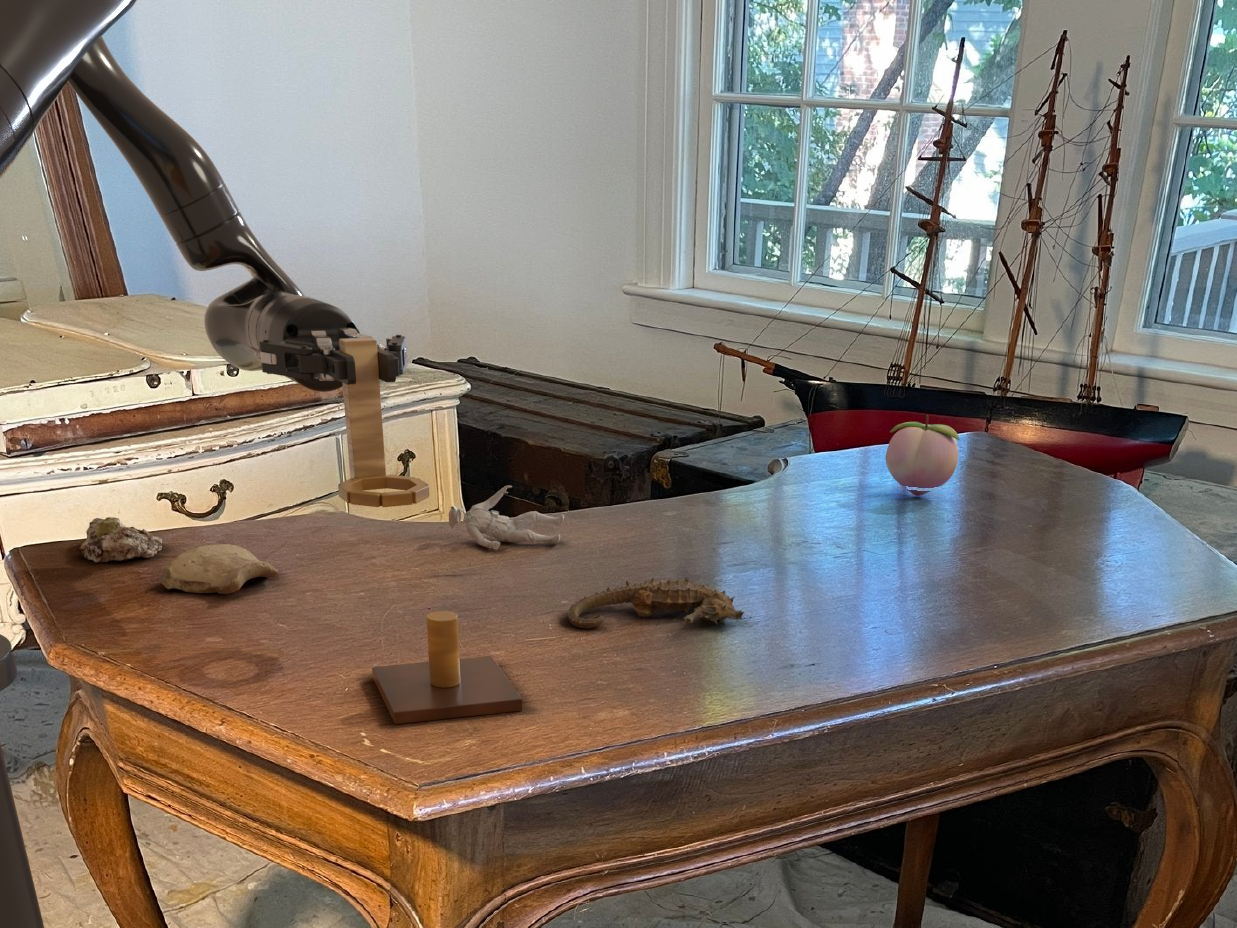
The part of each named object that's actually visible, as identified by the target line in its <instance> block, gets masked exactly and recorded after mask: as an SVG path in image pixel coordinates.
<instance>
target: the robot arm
mask: <svg viewBox="0 0 1237 928" xmlns="http://www.w3.org/2000/svg"><path fill="white" fill-rule="evenodd" d="M137 1H138V0H0V179H2V177H3V176H4V175H5V174H6V173H7V171H9V169H10V168H11V166H12V165H13V164H14V162H15V161H16V160H17V158H18V157H19V155H20V154H21V152H22V151H23V150H24V148H25V147H26V146H27V144H28V143H29V141H30V140H31V138H32V137H33V135H34V134H35V132H36V130H37V129H38V127H39V125H40V123H41V122H42V120H43V119H44V118H45V116H46V114H47V113H48V112H49V110H50V109H51V107H52V106H53V104H54V103H55V102H56V100H57V99H58V97H59V96H60V94H61V92H62V91H63V89H64V88H65V86H66V85H67V83H68V84H69V86H70V87H71V89H72V90H73V91H74V92H75V94H76V95H77V97H78V98H79V99H80V101H81V102H82V104H84V106H85V108H86V109H87V110H88V111H89V112H90V114H91V115H92V116H93V118H94V119H95V120H96V122H97V123H98V124H99V125H100V127H101V128H102V130H103V131H104V132H105V133H106V135H107V136H108V137H109V138H110V140H111V141H112V143H113V144H114V145H115V147H116V148H117V149H118V151H119V152H120V154H121V155H122V156H123V158H124V159H125V161H126V163H127V164H128V166H129V167H130V168H131V170H132V171H133V173H134V175H135V176H136V178H137V179H138V181H139V183H140V184H141V186H142V187H143V190H144V191H145V193H146V194H147V196H148V197H149V199H150V201H151V203H152V204H153V206H154V208H155V210H156V211H157V213H158V215H159V217H160V219H161V220H162V222H163V225H164V226H165V227H166V229H167V231H168V233H169V235H170V236H171V238H172V240H173V242H174V243H175V245H176V247H177V249H178V250H179V252H180V254H181V255H182V257H183V259H184V261H185V262H186V263H187V264H188V266H189V267H190V268H191V269H192V270H195V271H197V272H198V271H199V272H206V271H211V270H216V269H219V268H222V267H226V266H231V265H239V266H241V267H243V268H245V270H246V271H248V273H249V274H250V276H251V277H252V278H250V279H249V280H247V281H245V282H243V283H241V284H239V285H238V286H236V287H234V288H232V289H230V290H229V291H227V292H224V293H223V294H221V295H219V296H218V297H216V298H214V299H213V300H212V301H211V302H210V303H209V304H208V306H207V307H206V310H205V313H204V319H203V322H204V323H203V324H204V331H205V333H206V336H207V339H208V340H209V343H210V344H211V347H212V348H213V349H214V350H215V352H216V353H217V354H218V355H219V356H220V357H221V358H222V359H223V360H224V361H225V362H227V364H229V365H231V366H232V367H235V368H236V369H239V370H243V371H247V372H257V371H258V372H259V371H262V373H265V374H267V375H277V376H281V377H285V378H287V379H289V380H291V381H292V382H295V383H296V384H298V385H300V386H301V387H304V388H306V389H308V390H311V391H314V392H319V393H321V392H322V393H327V392H333V391H337V390H339V389H341V388H343V384H342V383H344V384H346V385H350V384H356V370H355V360H354V357H353V356H352V355H349V354H347V353H344V352H342V351H340V347H339V339H347V338H372V339H374V337H373V336H371V335H368V334H363V333H361V332H360V330H359V329H358V327H357V325H356V324H355V322H354V321H353V319H352V317H350V316H349V315H348V314H347V312H345V311H344V310H343V309H341V308H339V307H337V306H336V305H332V304H330V303H328V302H325V301H323V300H319V299H316V298H314V297H311V296H307V295H305V294H304V292H303V291H302V289H300V287H299V286H298V285H297V284H296V283H295V281H293V279H292V278H291V277H290V276H289V275H288V274H287V273H286V271H285V270H284V269H282V268H281V266H280V265H279V264H278V263H277V262H276V261H275V260H274V258H273V257H272V256H271V255H270V254H269V252H268V250H266V249H265V248H264V246H263V245H262V244H261V242H260V241H259V240H258V237H256V235H255V234H254V233H253V231H252V230H251V228H250V227H249V225H248V223H247V222H246V220H245V219H244V216H243V215H242V213H241V211H240V209H239V207H238V205H237V203H236V202H235V200H234V198H233V196H232V194H231V192H230V190H229V188H228V187H227V185H226V183H225V181H224V178H223V176H221V173H220V172H219V170H218V168H217V167H216V165H215V164H214V162H213V160H212V159H211V158H210V156H209V155H208V153H207V152H206V151H205V150H204V148H203V147H202V146H201V144H200V143H199V142H197V140H196V139H195V138H194V137H193V136H192V135H191V134H190V133H189V132H188V131H187V130H186V129H185V128H183V126H181V125H180V124H179V123H178V122H176V121H175V120H174V119H173V118H172V117H171V116H169V115H168V114H167V113H166V112H164V111H163V110H162V109H161V108H160V107H159V106H158V105H157V104H155V102H153V101H152V100H151V99H150V98H149V97H148V96H147V95H146V94H145V93H143V91H141V90H140V89H139V87H138V86H137V85H136V84H135V83H134V82H133V81H132V80H131V79H130V77H129V76H128V75H127V74H126V73H125V71H123V69H122V67H121V66H120V65H119V63H118V61H116V59H115V57H114V56H113V53H112V52H111V50H110V48H109V47H108V45H107V43H106V41H105V39H104V38H103V35H105V34H106V33H107V31H108V30H109V29H110V28H112V27H113V26H114V25H115V24H116V23H117V22H118V21H119V20H120V19H121V18H123V16H125V15H126V14H127V13H129V11H131V9H132V8H133V7H134V6H135V5H136V3H137ZM406 337H407V336H406V335H405V336H403V335H402V334H395V335H392V336H391V337H386V338H385V343H386V344H381V343H377V352H378V367H379V381H382V382H385V383H395V382H396V380H397V378H398V377H400V376H401V375H402V376H403V375H404V374H405V372H406V369H407V368H408V355H407V353H408V352H407V340H406V339H407V338H406Z"/></svg>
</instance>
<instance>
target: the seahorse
mask: <svg viewBox="0 0 1237 928" xmlns="http://www.w3.org/2000/svg"><path fill="white" fill-rule="evenodd" d="M625 584H626V585H621V586H620V587H614V588H612V587H610V586H607V587H606V590H602V591H600V592H598V591H596V592H595V593H594V594H590V595H589V596H585V595H584V596H583V598H581V599H579V600H578V601H575V603H573V604H571V606H570V607H569V609H568V611H567V618H568V621H569V623H570V625H571V626H574V627H576V628H581V629H583V628H584V629H591V628H595V627H598V626H600V625H602V624H603V623H604V622H605V617H604V615H602V614H595V615H593V616H592V617H591V618H582V617H580V616H581V614H583V613H585V612H587V611H590V610H592V609H595V608H598V607H605V606H611V605H616V606H617V605H618V604H620V605H623V604H628V603H629V604H632V605H633V608H632V610H633V611H634V612H635V613H636V614H637V615H638V617H641V618H643V617H644V618H645V617H646V618H647V617H650V616H652V615H653V614H655V613H656V612H659V611H660V610H664V611H665V612H666V613H669V612H670V611H675V612H676V613H678V612H681V611H684V612H685V613H688V612H689V611H690V610H693V612H692V613H690V614H686V615H685V616H684V617H683V620H684V622H685V624H687V625H689V624H692V623H693V622H694V621H696V620H699V619H701V620H703V621H704V620H705V621H711V622H714V623H715V624H716V625H718V620H720V623H721V624H723V623H724V620H725V619H727V618H729V619H732V620H738V622H739V621H740V620H743V615H744V614H745V612H744V611H742V609H741V610H736V609H735V606H734V604H733V603H734V599H735V597H736V596H732V597H731V598H730V596H728V595H727V594H726V589H724V590H722V591H719V590H718V589H716V588H711V587H709V584H708V583H707V584H705V585H704V584H702V585H701V584H698V583H697V582H694V583H693V582H691V581H690V579H689V578H688V577H687V576H686V577H685V578H684V580H679V579H677V580H675V581H673V580H671V579H668V580H663V579H661V580H656V579H655V578H654V577H652V578H651V580H650V581H648V580H645V581H644V582H640V583H634V584H631V583H630V582H629V581H628V580H626V581H625Z"/></svg>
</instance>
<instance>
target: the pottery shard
mask: <svg viewBox="0 0 1237 928" xmlns="http://www.w3.org/2000/svg"><path fill="white" fill-rule="evenodd" d="M278 575H279V571H278V570H277V568H275V567H274V566H273V564H271V563H269V562H267V561H262V560H260V559H258V558H257V557H256V556H255V555H254V554H253V553H251V551H250V550H249V549H247V548H244V547H242V546H238V545H235V544H234V545H233V544H228V543H221V544H208V545H202V546H197V547H195V548H192V549H190V550H187V551H185V552H182V553H180V554H178V555H177V556H176V557H175V558H174V559H172V560H171V561H170V562H169V563H168V564H167V565H166V566H165V567H164V568H163V570H162V572H161V574H160V577H159V578H158V579H159V580H158V581H159V583H160V584H161V585H162V586H164V588H166V589H167V590H172V589H177V590H181V591H183V592H186V593H194V594H212V593H213V594H214V593H217V594H221V595H223V594H231V593H235V592H238V591H239V590H240V589H241V588H242V586H243V585H244V584H245V583H246V582H247V581H249V580H252V579H254V578H261V577H262V578H267V579H271V578H272V579H275V578H276V577H277V576H278Z"/></svg>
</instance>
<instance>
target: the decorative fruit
mask: <svg viewBox="0 0 1237 928" xmlns="http://www.w3.org/2000/svg"><path fill="white" fill-rule="evenodd" d="M929 419H930V418H929V415H928V414H927V415H925V423H924V424H923V423H921V422H919V421H907V422H903V423H899V424H897V425H895V426H894V427H893V428H892V429H891V430H890V431H889V433H893V432H895V431H897V432H896V433H894V435H893V436H892V437H891V438H890V441H889V442H888V445H887V449H886V452H885V464H886V467H887V470H888V472H889V474H890V475H891V477H892V478H893V479H894V481H896V482H897V484H898V485H900V486H901V485H902V486H901V487H903V486H908V487H918V488H934V487H939V486H940V487H942V486H944V484H946V483H948V481H949V480H950V479H951V478H952V477H953V475H954V473H955V472H956V469H957V466H958V461H959V445H958V442H957V441H961V439H960V436H959V434H958V432H957V431H955V429H954V428H952V427H951V426H949V425H947V424H940V423H937V424H929ZM940 487H939V488H940ZM904 489H905V490H907V491H908V492H910V493H911V494H912V495H914V496H916V497H920V496H923V495H925V494H928V493H929V492H931V491H917V490H908V489H906V488H904Z"/></svg>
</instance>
